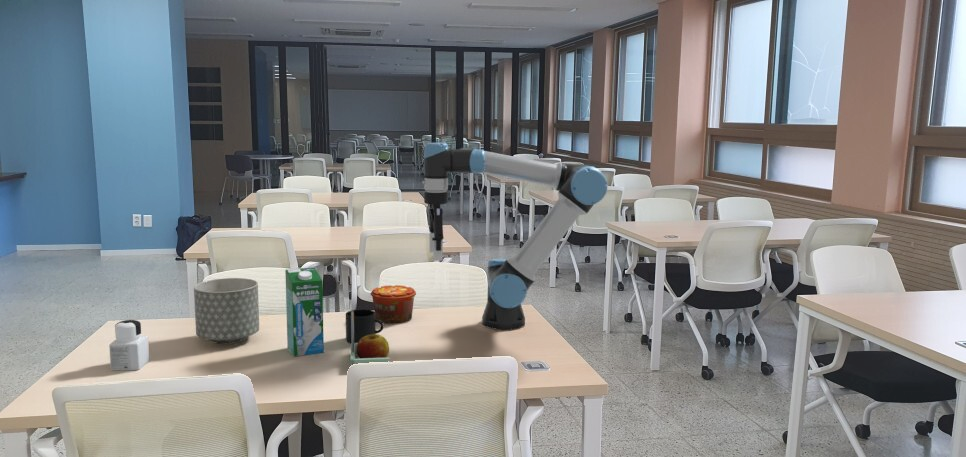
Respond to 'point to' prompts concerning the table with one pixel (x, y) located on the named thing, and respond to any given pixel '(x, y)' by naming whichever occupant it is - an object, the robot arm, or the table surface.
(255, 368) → the table surface
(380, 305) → the food container
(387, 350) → the fruit
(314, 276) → the milk carton
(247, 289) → the planter
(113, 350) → the container
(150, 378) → the table surface
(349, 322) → the mug
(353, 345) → the long-handled green u-channel
